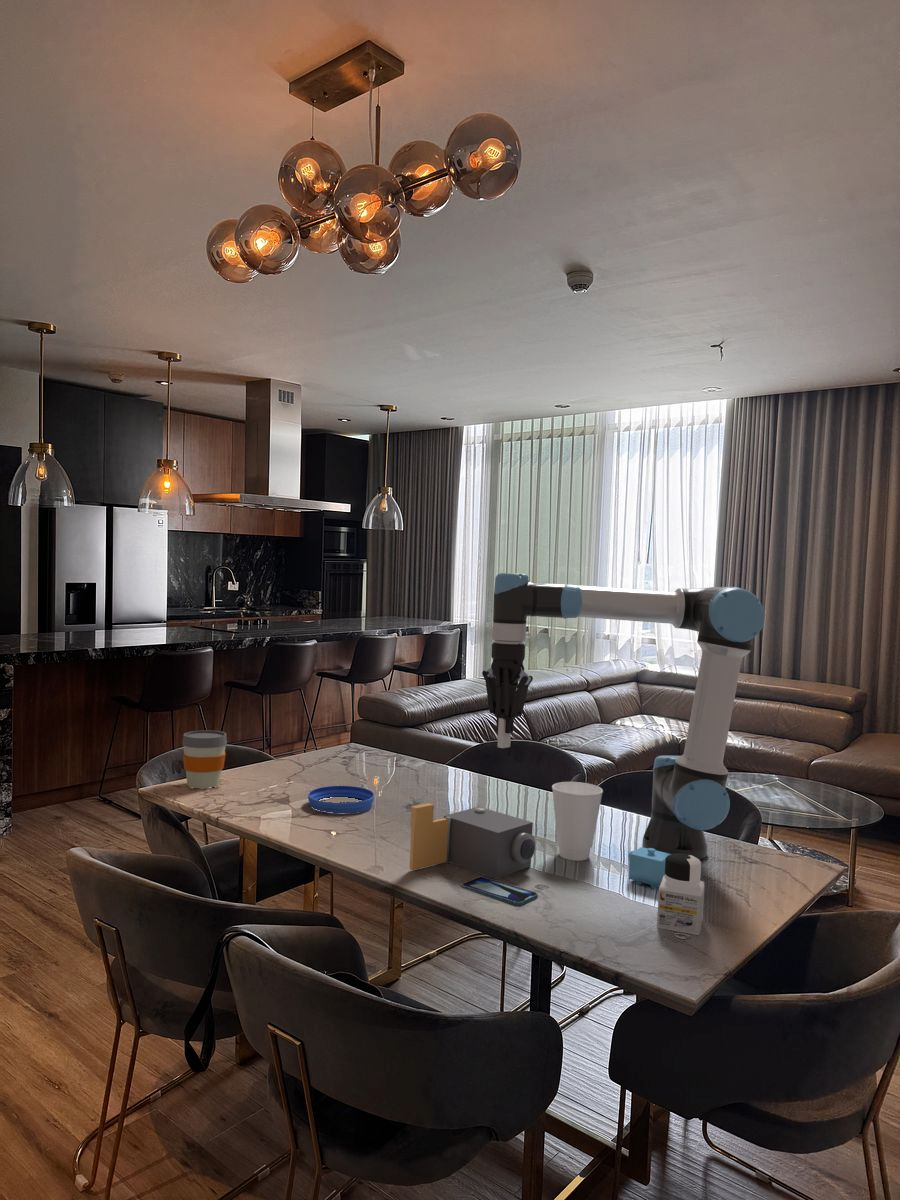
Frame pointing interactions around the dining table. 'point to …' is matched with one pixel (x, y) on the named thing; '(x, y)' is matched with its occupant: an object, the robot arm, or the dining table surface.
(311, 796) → the blue flat round ring
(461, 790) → the dining table surface
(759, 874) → the dining table surface
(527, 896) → the smartphone
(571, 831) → the cup
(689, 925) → the container
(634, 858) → the teapot
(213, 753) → the reusable coffee cup
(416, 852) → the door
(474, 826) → the case
